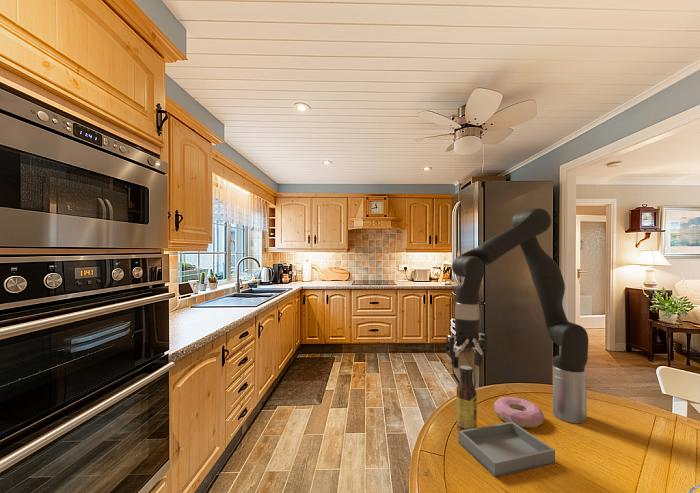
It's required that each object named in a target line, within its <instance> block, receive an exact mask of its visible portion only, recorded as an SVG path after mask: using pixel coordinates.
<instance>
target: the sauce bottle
mask: <svg viewBox="0 0 700 493" xmlns="http://www.w3.org/2000/svg"><path fill="white" fill-rule="evenodd" d="M473 371H474V369H473V367H472V366H468V365H460V366H459V372H460V373H459V376H460V378H459V379H460V381H459V382H458V384H457V386H456V397H455V398H456V403H455V404H456V406H455V407H456V428H457V430H458V431H461V430H467V429H472V428H478V402H477V401H478V398H477V394H478V393H477V390H476V388H475V387H476V386H475V384H474V381H473Z"/></svg>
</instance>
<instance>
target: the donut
mask: <svg viewBox="0 0 700 493" xmlns="http://www.w3.org/2000/svg"><path fill="white" fill-rule="evenodd" d="M493 407H494V413H495V414H496V415H497V417H499V418H500V419H501V420H502V422H503V423H506V422H514V423H515V424H517V425H518V426H520V427H521V428H523V429H526V428H527V429H534V428H536V427H539V426H541V425H542V424H544V419H545V415H544V412H543V411H542V409H541V408H540V407H538V405H536V403H533V402H531V401H529V400H526V399H525V398H519V397H514V396H504V397H503V396H501V397H500V398H498V399H497V400H496V401H495V402H494V403H493Z"/></svg>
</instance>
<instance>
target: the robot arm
mask: <svg viewBox="0 0 700 493" xmlns="http://www.w3.org/2000/svg"><path fill="white" fill-rule="evenodd" d="M551 224H552V218H551V214H549V212H548V211H547V210H545V209H544V208H540V207H539V208H538V207H537V208H531V209H528V210H527V209H526V210H523V211H520V212H519V211H518V212H517V213H515V214H514V215H513V216H512V219H511V226H512V227H510V229H506V230H504V231H503V232H499V233H498V234H495V235H494V236H492V237H490V238H489V239H487V240H485V241H484V242H482V244H479V245H478V246H477V247H474V248H473V249H470V250H468V251H466V252H463V253H461V254H460V255H459V256H457V257H456V258H455V259H453V261H452V263H451V264H452V265H451V269H452V273H454V275H455V276H458V277H462V278H463V281H462V284H458V285H457V286H456V290H455V307H454V330H455V334H454V335H451V334H447V335H446V340H445V353H446V354H448V355H450V357H451V359H450V360H451V363H450V364H451V366H452V367H453V368H454V369H459V360H460V359H459V355H460V353H462V352H463V351H464V350H467V349H473V351H474V365H475V366H477V367H480V366H481V365H482V362H483V359H482V358H483V354H484V353H487V352H488V335H487V334H485V333H484V332H483V333H482V332H480V301H479V300H480V297H479V296H480V294H479V292H480V288H481V286H482V281H483V278H484V275H485V266H488V265H490V264H492V263H495V261H497V260H498V259H500V258H501V257H503V256H504V255H505V254H507V253H508V252H510V251H511V250H513V249H515V248H516V247H517V246H520V249H521V251H522V253H523V256H524V258H525V261H526V264H527V266H528V270H529V273H530V277H531V279H532V282H533V286H534V288H535V290H536V293H537V298H538V300H539V303H540V306H541V309H542V312H543V318H544V323H545V328H546V333H547V334H548V337H549V339H550V340H551V342H553V343H554V344H556V345H557V346H560V355H555V356H554V357H553V358H552V414H553V415H554V416H555V417H556V418H558V419H559V420H561V421H564V422H567V423H571V424H583V423H586V422H585V421H586V420H587V418H588V414H587V412H588V410H587V408H588V406H587V405H588V403H587V401H588V400H587V398H588V396H587V391H586V390H585V389H586V388H585V386H586V385H585V384H586V382H585V380H586V379H585V377H586V376H585V371H586V370H585V368H586V367H585V366H586V365H587V363H588V358H589V357H588V356H589V336H588V332H587V330H586V329H585V328H584V327H583V326H582V325H580V324H577V323H574V322H571V321H570V322H569V320H568V318H567V315H566V312H565V309H564V306H563V301H564V295H565V292H566V291H565V289H566V285H565V280H564V277H563V275H562V274H563V273H562V271H561V268H560V266H559V265H558V264H557V263H556V261H555V260H554V259H553V258H552V257H551V256H550V255H549V254H548V253H547V252H546V251H545V250H544V249H543V247H542V246H541V244H540V243H539V240H538V238H537V236H539V235H541V234H543V233H545V232H547V231H548V230H549V228H550V227H551Z"/></svg>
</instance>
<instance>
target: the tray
mask: <svg viewBox="0 0 700 493" xmlns="http://www.w3.org/2000/svg"><path fill="white" fill-rule="evenodd" d="M458 444H459V445H460V446H461V447H463V449H465V451H466V452H467V453H469V455H471V457H473V458H474V459H475V460H476V462H478V463H479V464H480V465H481V466H482V467H484V469H486V470H487V471H488V472H489V473H490V475H491V476H493V477H494V478H499V477H502V476H506V475H507V476H508V475H510V474H511V475H512V474H515V473H520V472H525V471H528V470H532V469H536V468H541V467H545V466H549V465H553V464H556V450H555V449H554V448H553V447H551V446H550V445H549V444H547V443H545V442H543V441H542V440H541V439H539V438H538V437H536V436H535V435H533V434H532V433H531V432H528V430H525V428H522V427H520V426H518V425H517V424H515V423H514V422H500V423H496V424H491V425H490V424H489V425H484V426H479V427H478V426H477V427H476V428H472V429H467V430H461V431H460V430H458Z"/></svg>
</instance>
